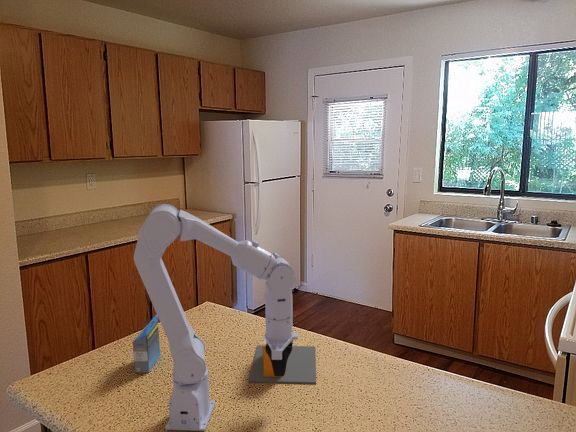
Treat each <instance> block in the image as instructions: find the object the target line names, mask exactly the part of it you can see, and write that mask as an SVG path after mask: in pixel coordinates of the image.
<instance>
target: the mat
mask: <svg viewBox="0 0 576 432" xmlns="http://www.w3.org/2000/svg"><path fill="white" fill-rule="evenodd" d="M262 345H263V344H262ZM262 345H260V344H259V345H257V346H256V350H255V353H254V358H253V362H252V366H251V370H250V374H249V377H248V383H262V384H265V383H266V384H268V383H269V384H270V383H271V384H304V385H305V384H307V385H308V384H311V385H312V384H314V385H315V384H317V368H316V367H317V366H316V365H317V363H316V346H314V345H313V346H311V345H309V346H308V345H305V346H304V345H292V351H291V353H290V355H289V357H288V360H287V365H286V371H285V375H284V376H282V377H264V373H263V349H262Z"/></svg>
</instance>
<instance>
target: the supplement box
mask: <svg viewBox="0 0 576 432" xmlns="http://www.w3.org/2000/svg"><path fill="white" fill-rule="evenodd" d="M266 344H267V342H266V340H265V336H264V338H263V341H262V349H263V373H264V377H282V376H275V375H274V372H273V368H272V363H271V360H270V358H269V356H268V354H267V353H266V350H265V347H266Z"/></svg>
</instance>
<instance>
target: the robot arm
mask: <svg viewBox="0 0 576 432" xmlns="http://www.w3.org/2000/svg"><path fill="white" fill-rule="evenodd" d="M178 236H180V237H179V242H185V241H190V240H191V241H192V240H196V241H199V242H201V243H203V244H205V245H206V246H209V247H212V248H213V249H215V250H217V251H219V252H221V253H223V254H226V255H228V256H230V260H231V263H232V265H233V266H235V267H236V268H239V269H240V270H241V271H244V272H246V273H248V274H249V275H252V276H253V277H255V278H257V279H259V280H265V281H266V282H265V294H264V299H265V300H264V303H265V304H264V305H265V313H264V314H265V333H264V337H265V340H266V342H267V344H266V347H265V350H266V353H267V354H268V356H269V358H270V360H271V363H272V368H273V372H274V375H275V376H284V375H285V371H286V365H287V360H288V357H289V355H290V353H291V351H292V346H294V345H293V343H294V341H297V340H299V333H298V332H293V331H294V330H293V325H294V324H293V321H294V319H293V317H294V316H293V315H294V314H293V311H294V310H293V303H294V302H293V286H294V285H295V282H296V279H297V276H296V275H295V271H294V269H293V268H292V266H291V265H290V263H289V262H288V261H287V260H286V259H284V258H283V257H282V256H281V255H279V254H278V253H276V252H272V253H271V252H269V251H267V250H266V249H265V248H262V247H260V243H259V242H258V241H257V240H254V239H253V240H252V241H250V240H247V239H245V240H241V241H237V240H235V239H233V238H232V237H231V236H229V235H227V234H226V233H224V232H222V231H220V230H219V229H217V228H215V227H214V226H212V225H211V224H209V223H207V222H206V221H204V220H202V219H200V218H199V217H197V216H195V215H193V214H191V213H189V212H187V211H184V210H183V209H179V210H178V208H176V207H175V206H174V205H171V204H168V203H162V204H158V205H156V206H154V207H153V208H152V209H151V210H150V211H149V213H148V215H147V216H146V217H145V220H144V221H143V224H142V225H141V227H140V228H139V230H138V237H137V242H136V245H135V250H134V254H133V262H134V264H135V265H134V266H135V267H136V269H137V271H138V274H139V276H140V278H141V281H142V283H143V285H144V287H145V290H146V292H147V294H148V296H149V299H150V302H151V304H152V306H153V309H154V310H155V313H156V314H157V316H158V321H159V322H160V324H161V327H162V330H163V331H164V334H165V336H166V338H167V341H168V346H169V352H170V355H171V358H172V360H173V369H172V375H171V376H172V392H171V394H170V397H169V399H168V410H169V413H168V414H169V419H168V421H167V423H166V425H165V430H167V431H196V432H197V431H199V432H200V431H201V432H202V431H203V432H204V431H206V429H207V426H208V423H209V420H210V418H211V415H212V413H213V410H214V406H215V404H216V401H215V400H210V379H209V369H208V367H207V363H206V357H205V350H206V348H205V347H206V346H205V343H204V341H203V339H202V338H201V337H199V336H198V335H197V334H196V332H195V331H194V328H193V327H192V326H191V325H190V322H189V321H188V319H187V316H186V313H185V311H184V308H183V307H182V304H181V302H180V300H179V297H178V294H177V292H176V289H175V287H174V285H173V283H172V280H171V277H170V276H169V272H168V270H167V268H166V266H165V263H164V261H163V259H162V256H163V255H164V254H165V252H166V249H167V247H169V246H170V245H171V244H172V243H173V242H174V241H175V240H176V239H177V238H178Z"/></svg>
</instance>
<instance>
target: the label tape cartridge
mask: <svg viewBox="0 0 576 432" xmlns="http://www.w3.org/2000/svg"><path fill="white" fill-rule="evenodd" d="M132 350H133V351H132V354H133V366H134V373H135V374H149V373H150V372H151V370H152V369H153V368H154V366H155V364H156V363H157V361H158V360H159V359H160V358H161V347H160V331H159V318H158V316H157V313H156V314H155V315H154V316H153V317H152V318H151V319H150V321H149V322H148V323H147V324H146V325H145V326H144V328H143V329H142V330H141V331H140V332H139V334H138V335H137V336H136V337H135V339H134V340H133V341H132Z"/></svg>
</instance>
